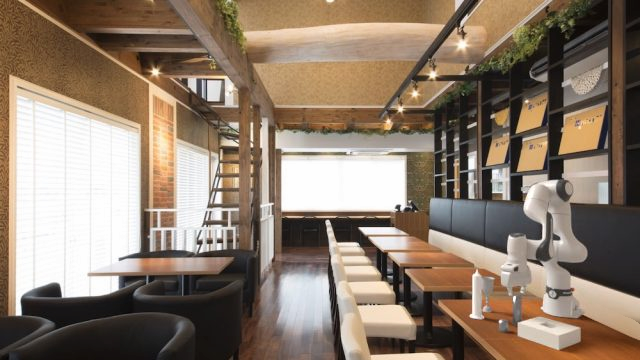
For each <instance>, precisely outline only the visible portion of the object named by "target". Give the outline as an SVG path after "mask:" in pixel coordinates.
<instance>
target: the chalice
mask: <svg viewBox="0 0 640 360" xmlns="http://www.w3.org/2000/svg"><path fill="white" fill-rule="evenodd" d="M494 281H495V277H492V276H482V293H483V294H484V295H485V300H486V301H485V303H486V304H485V305H484V306H483V307H482V312H483V313H484V312H485V313H492V312H493V311H492V308H491V306H490V305H489V303H490V302H489V300H490V299H489V296H490V295H491V294H492V292H493V290H494V285H495V284H494V283H495V282H494Z"/></svg>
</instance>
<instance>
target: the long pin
mask: <svg viewBox="0 0 640 360" xmlns="http://www.w3.org/2000/svg"><path fill="white" fill-rule="evenodd" d="M522 298H523V296H522V295H520V294H519V295H518V294H514V295H513V296H512V325H513V326H515V327H518V322H522V321H523V320H522V319H523V317H522V315H523V299H522Z"/></svg>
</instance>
